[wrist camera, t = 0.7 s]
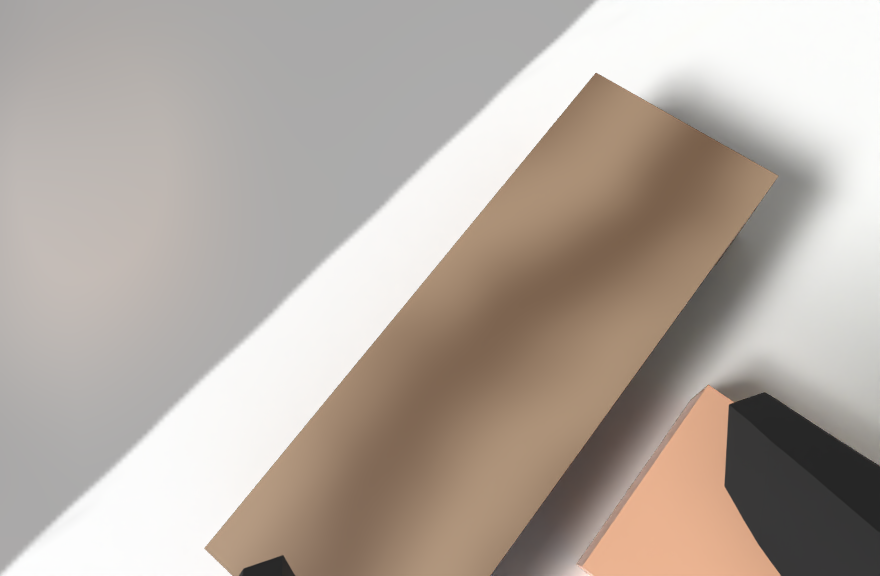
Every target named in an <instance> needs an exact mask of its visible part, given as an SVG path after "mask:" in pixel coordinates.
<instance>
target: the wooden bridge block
mask: <svg viewBox="0 0 880 576" xmlns="http://www.w3.org/2000/svg"><path fill="white" fill-rule="evenodd" d="M777 178H778V175H776V174H774V173H773V172H771V171H769V170H767V169H766V168H764V167H762V166H760V165H758V164H757V163H755V162H753V161H751V160H750V159H748V158H746V157H744V156H743V155H741V154H739V153H737V152H735V151H734V150H732V149H730V148H728V147H727V146H725V145H723V144H721V143H720V142H718V141H716V140H714V139H712V138H711V137H709V136H707V135H705V134H704V133H702V132H700V131H698V130H697V129H695V128H693V127H691V126H689V125H688V124H686V123H684V122H682V121H681V120H679V119H677V118H675V117H674V116H672V115H670V114H668V113H666V112H665V111H663V110H661V109H659V108H658V107H656V106H654V105H652V104H650V103H649V102H647V101H645V100H643V99H642V98H640V97H638V96H636V95H635V94H633V93H631V92H629V91H627V90H626V89H624V88H622V87H620V86H619V85H617V84H615V83H613V82H612V81H610V80H608V79H606V78H604V77H603V76H601V75H599V74H597V73H595V74H594V76H593V77H592V78H591V79H590V81H589V82H588V83H587V84H586V85H585V87H584V88H583V89H582V90H581V92H580V93H579V94H578V95H577V96H576V98H575V99H574V100H573V101H572V102H571V104H570V105H569V106H568V107H567V109H566V110H565V111H564V112H563V113H562V115H561V116H560V117H559V118H558V119H557V121H556V122H555V123H554V124H553V126H552V127H551V128H550V129H549V130H548V132H547V133H546V134H545V135H544V136H543V138H542V139H541V140H540V141H539V143H538V144H537V145H536V146H535V147H534V149H533V150H532V151H531V152H530V153H529V155H528V156H527V157H526V158H525V160H524V161H523V162H522V163H521V164H520V166H519V167H518V168H517V169H516V170H515V172H514V173H513V174H512V175H511V177H510V178H509V179H508V180H507V181H506V183H505V184H504V185H503V186H502V187H501V189H500V190H499V191H498V192H497V194H496V195H495V196H494V197H493V198H492V200H491V201H490V202H489V203H488V204H487V206H486V207H485V208H484V209H483V211H482V212H481V213H480V214H479V215H478V217H477V218H476V219H475V220H474V221H473V223H472V224H471V225H470V226H469V228H468V229H467V230H466V231H465V232H464V234H463V235H462V236H461V237H460V238H459V240H458V241H457V242H456V243H455V245H454V246H453V247H452V248H451V249H450V251H449V252H448V253H447V254H446V255H445V257H444V258H443V259H442V260H441V262H440V263H439V264H438V265H437V266H436V268H435V269H434V270H433V271H432V272H431V274H430V275H429V276H428V277H427V279H426V280H425V281H424V282H423V283H422V285H421V286H420V287H419V288H418V290H417V291H416V292H415V293H414V294H413V296H412V297H411V298H410V299H409V300H408V302H407V303H406V304H405V305H404V307H403V308H402V309H401V310H400V311H399V313H398V314H397V315H396V316H395V317H394V319H393V320H392V321H391V322H390V324H389V325H388V326H387V327H386V328H385V330H384V331H383V332H382V333H381V334H380V336H379V337H378V338H377V339H376V341H375V342H374V343H373V344H372V345H371V347H370V348H369V349H368V350H367V351H366V353H365V354H364V355H363V356H362V358H361V359H360V360H359V361H358V362H357V364H356V365H355V366H354V367H353V368H352V370H351V371H350V372H349V373H348V375H347V376H346V377H345V378H344V379H343V381H342V382H341V383H340V384H339V385H338V387H337V388H336V389H335V390H334V392H333V393H332V394H331V395H330V396H329V398H328V399H327V400H326V401H325V402H324V404H323V405H322V406H321V407H320V409H319V410H318V411H317V412H316V413H315V415H314V416H313V417H312V418H311V419H310V421H309V422H308V423H307V424H306V426H305V427H304V428H303V429H302V430H301V432H300V433H299V434H298V435H297V436H296V438H295V439H294V440H293V441H292V443H291V444H290V445H289V446H288V447H287V449H286V450H285V451H284V452H283V453H282V455H281V456H280V457H279V458H278V460H277V461H276V462H275V463H274V464H273V466H272V467H271V468H270V469H269V471H268V472H267V473H266V474H265V475H264V477H263V478H262V479H261V480H260V481H259V483H258V484H257V485H256V486H255V488H254V489H253V490H252V491H251V492H250V494H249V495H248V496H247V497H246V498H245V500H244V501H243V502H242V503H241V505H240V506H239V507H238V508H237V509H236V511H235V512H234V513H233V514H232V515H231V517H230V518H229V519H228V520H227V522H226V523H225V524H224V525H223V526H222V528H221V529H220V530H219V531H218V532H217V534H216V535H215V536H214V537H213V539H212V540H211V541H210V542H209V543H208V545H207V546H206V547H205V548H204V549H206V550H207V551H208V552H209V553H210V554H211V555H212V556H213V557H214V558H215V559H216V560H217V561H218V562H219V563H220V564H221V565H222V566H223V567H224V568H225V569H226V570H227V571H228V572H229V573H230V574H231V575H232V576H239V574H240V573H241V572H242V570H243V569H244V568H246V567H249V566H252V565H255V564H258V563H261V562H264V561H267V560H270V559H273V558H276V557H279V556H282V555H284V557H285V559H286V561H287V562H288V564H289V566H290V568H291V569H292V571H293V573H294V574H295V576H491V574H492V573H493V571H494V570H495V569H496V567H497V566H498V564H499V563H500V562H501V560H502V559H503V558H504V556H505V555H506V553H507V552H508V551H509V549H510V548H511V546H512V545H513V544H514V542H515V541H516V540H517V538H518V537H519V535H520V534H521V533H522V531H523V530H524V528H525V527H526V526H527V524H528V523H529V522H530V520H531V519H532V517H533V516H534V515H535V513H536V512H537V510H538V509H539V508H540V506H541V505H542V504H543V502H544V501H545V499H546V498H547V497H548V495H549V494H550V492H551V491H552V490H553V488H554V487H555V486H556V484H557V483H558V481H559V480H560V479H561V477H562V476H563V474H564V473H565V472H566V470H567V469H568V468H569V466H570V465H571V463H572V462H573V461H574V459H575V458H576V456H577V455H578V454H579V452H580V451H581V450H582V448H583V447H584V445H585V444H586V443H587V441H588V440H589V438H590V437H591V436H592V434H593V433H594V432H595V430H596V429H597V427H598V426H599V425H600V423H601V422H602V420H603V419H604V418H605V416H606V415H607V414H608V412H609V411H610V409H611V408H612V407H613V405H614V404H615V402H616V401H617V400H618V398H619V397H620V396H621V394H622V393H623V391H624V390H625V389H626V387H627V386H628V384H629V383H630V382H631V380H632V379H633V378H634V376H635V375H636V373H637V372H638V371H639V369H640V368H641V366H642V365H643V364H644V362H645V361H646V360H647V358H648V357H649V355H650V354H651V353H652V351H653V350H654V348H655V347H656V346H657V344H658V343H659V342H660V340H661V339H662V337H663V336H664V335H665V333H666V332H667V330H668V329H669V328H670V326H671V325H672V324H673V322H674V321H675V319H676V318H677V317H678V315H679V314H680V312H681V311H682V310H683V308H684V307H685V305H686V304H687V303H688V301H689V300H690V299H691V297H692V296H693V294H694V293H695V292H696V290H697V289H698V287H699V286H700V285H701V283H702V282H703V281H704V279H705V278H706V276H707V275H708V274H709V272H710V271H711V269H712V268H713V267H714V265H716V264H717V263H718V261H719V260H720V258H721V257H722V256H723V254H724V253H725V252H726V250H727V249H728V247H729V246H730V245H731V243H732V242H733V240H734V239H735V238H736V236H737V235H738V234H739V232H740V231H741V229H742V228H743V226H744V225H745V223H746V222H747V221H748V219H749V218H750V216H751V215H752V213H753V212H754V211H755V209H756V208H757V206H758V205H759V203H760V202H761V201H762V199H763V198H764V196H765V195H766V193H767V192H768V190H769V189H770V188H771V186H772V185H773V183H774V182H775V180H776V179H777Z"/></svg>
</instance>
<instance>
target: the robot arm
mask: <svg viewBox="0 0 880 576" xmlns="http://www.w3.org/2000/svg"><path fill="white" fill-rule="evenodd" d="M724 486H725V488H726V490H727V492H728V493H729V495H730V497H731V499H732V500H733V502H734V504H735V506H736V507H737V509H738V511H739V513H740V515H741V516H742V518H743V520H744V521H745V523H746V525H747V526H748V528H749V530H750V532H751V533H752V535H753V537H754V538H755V540H756V542H757V543H758V545H759V546H760V548H761V549H762V550H763V552H764V553H765V555H766V556H767V557H768V559H769V560H770V561H771V563H772V564H773V566H774V567H775V568H776V570H777V571H778V572H779V574H780V575H781V576H880V466H879V465H877V464H876V463H874V462H872V461H871V460H869V459H868V458H866V457H864V456H863V455H861V454H860V453H858V452H857V451H855V450H853V449H852V448H850V447H849V446H847V445H846V444H844V443H842V442H841V441H839V440H838V439H836V438H835V437H833V436H832V435H830V434H828V433H827V432H825V431H824V430H822V429H821V428H819V427H818V426H816V425H815V424H813V423H812V422H810V421H809V420H807V419H805V418H804V417H802V416H801V415H799V414H798V413H796V412H795V411H793V410H792V409H790V408H789V407H787V406H786V405H784V404H783V403H781V402H780V401H778V400H776V399H775V398H773V397H772V396H770V395H768V394H767V393H765V392H764V393H761V394H758V395H755V396H752V397H750V398H747V399H744V400H741V401H738V402H735V403H732V404H729V410H728V429H727V447H726V465H725V484H724ZM239 576H295V574H294V573H293V571H292V569H291V568H290V566H289V564H288V562H287V561H286V559H285V557H284V555H282V556H279V557H276V558H273V559H270V560H267V561H264V562H261V563H258V564H255V565H252V566H249V567H246V568H244V569H243V570H242V572H241V573H240V574H239Z"/></svg>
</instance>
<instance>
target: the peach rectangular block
mask: <svg viewBox="0 0 880 576" xmlns="http://www.w3.org/2000/svg"><path fill="white" fill-rule="evenodd" d="M732 403H735V402H733V401H732V400H730V399H729V398H727V397H726V396H724V395H723V394H721V393H720V392H718V391H717V390H715V389H714V388H712V387H711V386H709V385H707V386H706V387H705V388H704V389H703V390H702V391H700V392H699V393H698V394H697V395H696V396H695V397H693V398H692V399H691V400H690V402H689V403H688V404H687V406H686V407H685V409H684V410H683V412H682V413H681V414H680V416H679V417H678V419H677V420H676V422H675V423H674V425H673V426H672V427H671V429H670V430H669V432H668V433H667V435H666V436H665V437H664V439H663V440H662V442H661V443H660V445H659V446H658V448H657V449H656V450H655V452H654V453H653V455H652V456H651V458H650V459H649V460H648V462H647V463H646V465H645V466H644V468H643V469H642V470H641V472H640V473H639V475H638V476H637V478H636V479H635V481H634V482H633V483H632V485H631V486H630V488H629V489H628V491H627V492H626V493H625V495H624V496H623V498H622V499H621V501H620V502H619V503H618V505H617V506H616V508H615V509H614V511H613V512H612V514H611V515H610V516H609V518H608V519H607V521H606V522H605V524H604V525H603V526H602V528H601V529H600V531H599V532H598V534H597V535H596V537H595V538H594V539H593V541H592V542H591V544H590V545H589V547H588V548H587V549H586V551H585V552H584V554H583V555H582V557H581V558H580V559H579V561H578V562H577V564H576V565H578V566H579V567H580V568H581V569H583V570H584V571H585V572H586V573H587V574H589V575H590V576H781V575H780V574H779V572H778V571H777V570H776V568H775V567H774V566H773V564H772V563H771V561H770V560H769V559H768V557H767V556H766V555H765V553H764V552H763V550H762V549H761V548H760V546H759V545H758V543H757V542H756V540H755V538H754V537H753V535H752V533H751V532H750V530H749V528H748V526H747V525H746V523H745V521H744V520H743V518H742V516H741V515H740V513H739V511H738V509H737V507H736V506H735V504H734V502H733V500H732V499H731V497H730V495H729V493H728V492H727V490H726V488H725V486H724V484H725V465H726V447H727V429H728V410H729V404H732Z"/></svg>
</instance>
